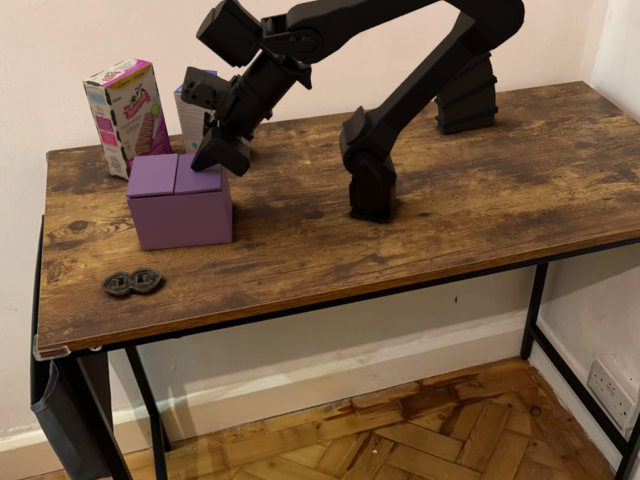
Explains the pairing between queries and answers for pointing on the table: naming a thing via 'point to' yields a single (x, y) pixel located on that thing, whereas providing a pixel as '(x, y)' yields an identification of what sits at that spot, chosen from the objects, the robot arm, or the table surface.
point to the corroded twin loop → (132, 281)
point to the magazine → (468, 97)
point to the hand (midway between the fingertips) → (193, 169)
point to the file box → (175, 207)
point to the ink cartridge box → (192, 121)
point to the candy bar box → (127, 114)
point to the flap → (196, 177)
